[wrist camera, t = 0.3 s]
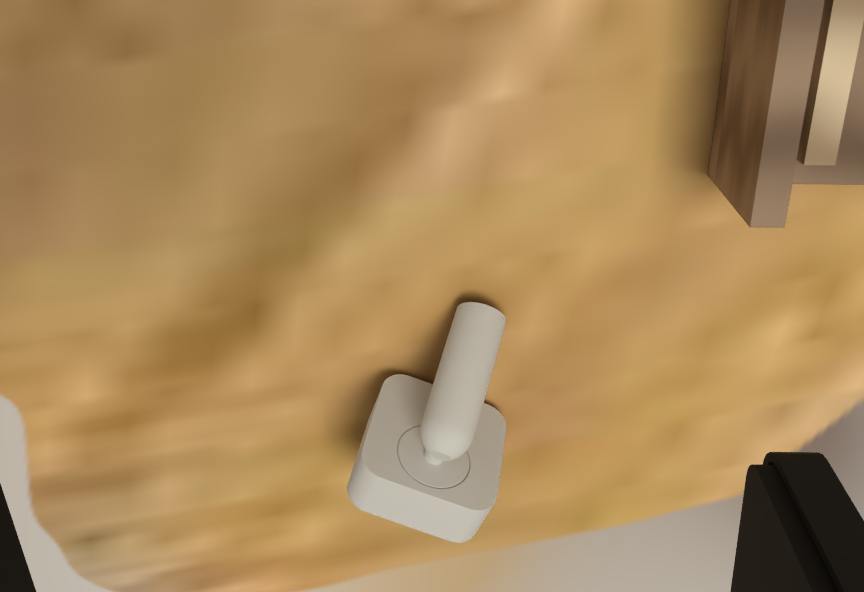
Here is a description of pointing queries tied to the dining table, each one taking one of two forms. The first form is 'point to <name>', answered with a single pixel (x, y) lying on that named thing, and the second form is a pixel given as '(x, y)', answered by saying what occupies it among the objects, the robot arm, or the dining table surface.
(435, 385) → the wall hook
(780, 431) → the dining table surface
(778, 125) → the board
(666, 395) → the dining table surface
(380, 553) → the dining table surface
